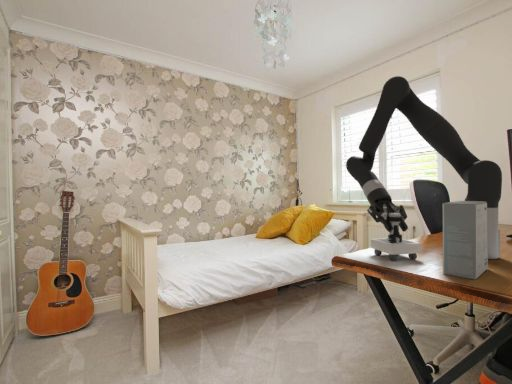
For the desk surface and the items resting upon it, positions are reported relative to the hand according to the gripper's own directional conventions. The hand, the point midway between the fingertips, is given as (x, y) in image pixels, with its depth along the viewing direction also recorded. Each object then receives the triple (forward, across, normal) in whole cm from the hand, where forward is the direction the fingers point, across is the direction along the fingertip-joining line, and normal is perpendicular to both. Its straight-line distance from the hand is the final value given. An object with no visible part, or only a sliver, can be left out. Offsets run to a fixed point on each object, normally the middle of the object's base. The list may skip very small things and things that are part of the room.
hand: (398, 230), depth 94 cm
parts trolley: (+6, 0, +8) cm, 10 cm away
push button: (+2, 0, +5) cm, 5 cm away
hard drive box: (+19, +8, -5) cm, 21 cm away
